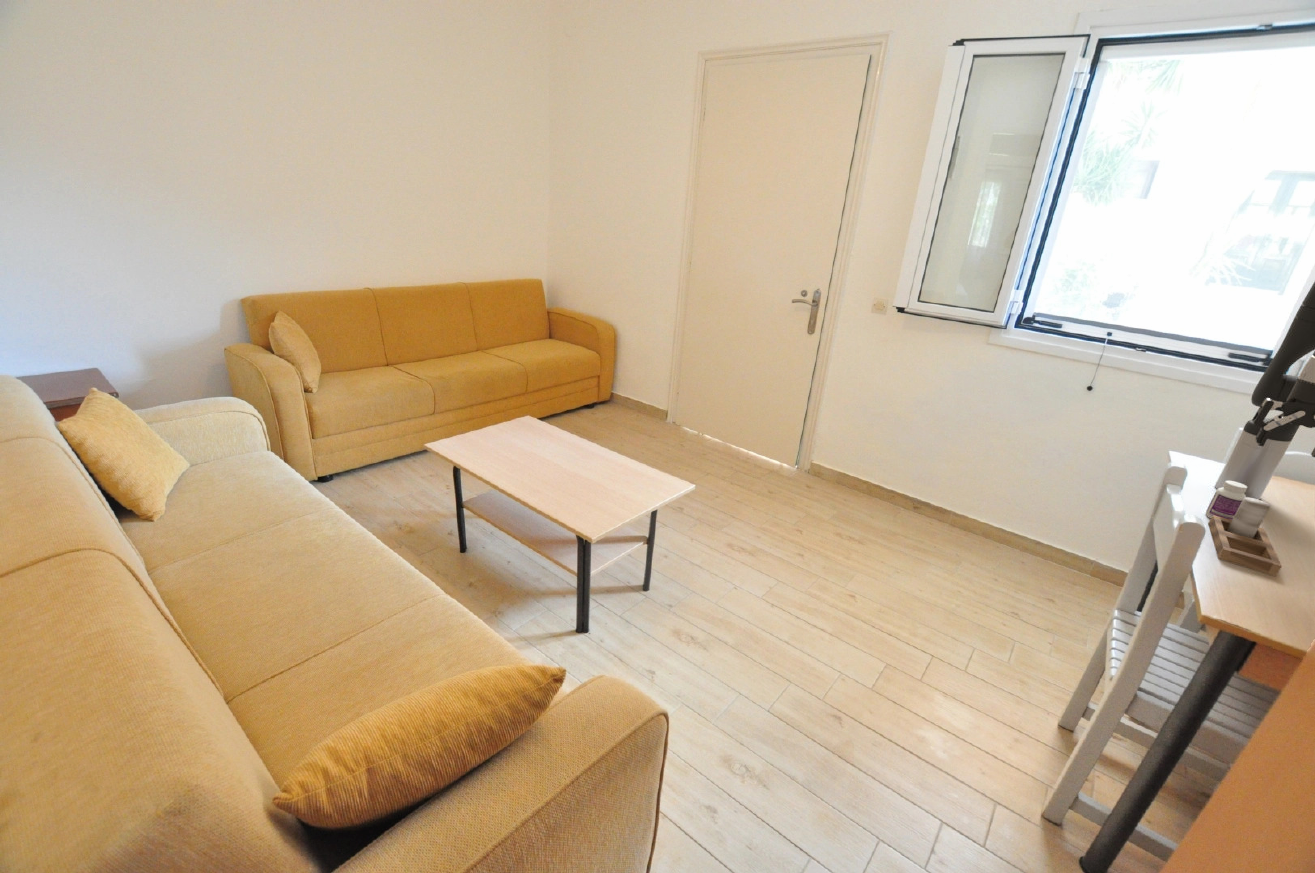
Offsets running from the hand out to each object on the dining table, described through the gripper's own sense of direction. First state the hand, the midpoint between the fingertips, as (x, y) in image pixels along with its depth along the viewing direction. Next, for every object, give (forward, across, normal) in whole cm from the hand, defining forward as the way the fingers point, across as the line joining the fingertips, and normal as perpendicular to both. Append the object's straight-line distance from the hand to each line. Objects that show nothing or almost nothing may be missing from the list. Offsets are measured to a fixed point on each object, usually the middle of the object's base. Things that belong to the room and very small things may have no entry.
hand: (1286, 450), depth 124 cm
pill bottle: (+22, +3, -8) cm, 24 cm away
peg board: (+22, +1, +8) cm, 23 cm away
